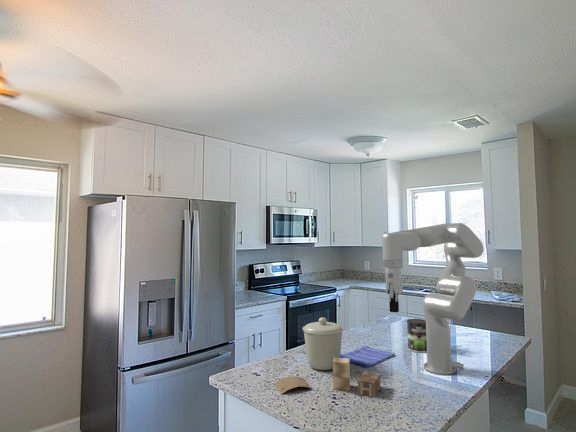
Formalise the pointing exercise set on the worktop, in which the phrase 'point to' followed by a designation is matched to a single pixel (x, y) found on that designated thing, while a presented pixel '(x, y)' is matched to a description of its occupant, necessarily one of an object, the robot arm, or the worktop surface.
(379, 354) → the dish towel
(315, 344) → the canister
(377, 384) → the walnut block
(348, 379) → the oak block
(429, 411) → the worktop surface
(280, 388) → the clay tablet
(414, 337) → the coffee can
